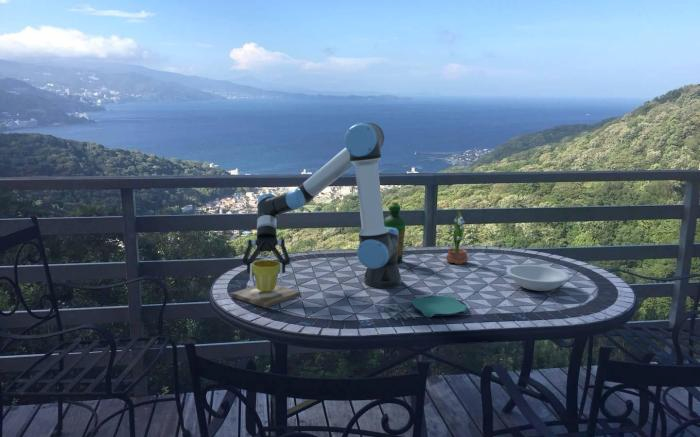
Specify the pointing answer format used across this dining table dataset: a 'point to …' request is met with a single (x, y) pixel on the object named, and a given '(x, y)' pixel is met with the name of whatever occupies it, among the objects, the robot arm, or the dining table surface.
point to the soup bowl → (537, 277)
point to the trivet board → (266, 295)
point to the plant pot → (266, 274)
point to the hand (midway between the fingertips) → (266, 280)
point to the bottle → (396, 226)
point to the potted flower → (457, 243)
